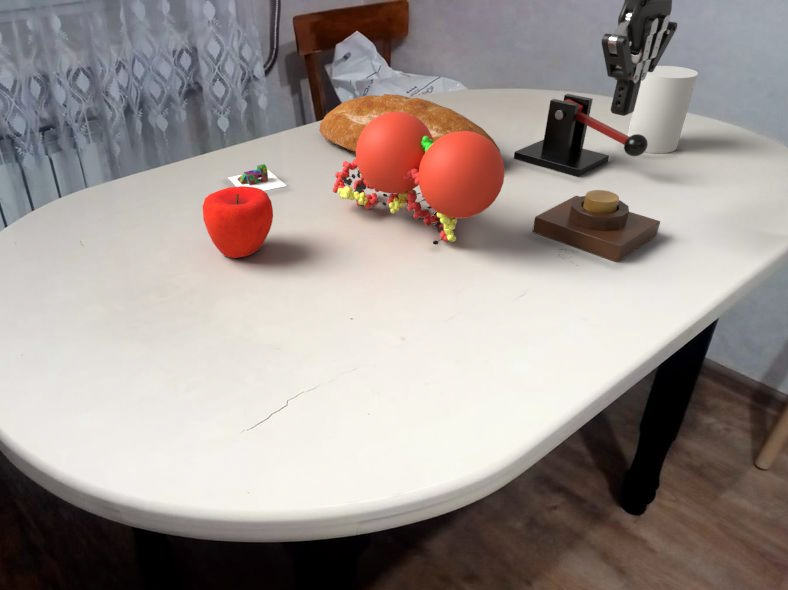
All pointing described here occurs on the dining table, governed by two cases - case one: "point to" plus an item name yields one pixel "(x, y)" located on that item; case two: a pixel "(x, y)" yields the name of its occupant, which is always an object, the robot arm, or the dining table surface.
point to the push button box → (596, 228)
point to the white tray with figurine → (257, 179)
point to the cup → (663, 107)
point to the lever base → (564, 140)
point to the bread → (358, 112)
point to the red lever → (614, 133)
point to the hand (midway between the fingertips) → (621, 113)
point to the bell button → (601, 201)
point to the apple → (238, 219)
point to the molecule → (423, 171)
